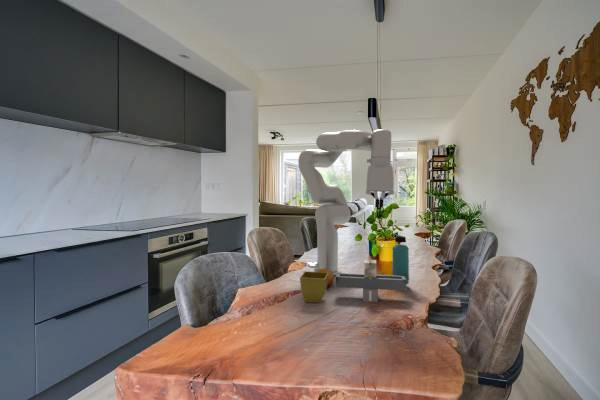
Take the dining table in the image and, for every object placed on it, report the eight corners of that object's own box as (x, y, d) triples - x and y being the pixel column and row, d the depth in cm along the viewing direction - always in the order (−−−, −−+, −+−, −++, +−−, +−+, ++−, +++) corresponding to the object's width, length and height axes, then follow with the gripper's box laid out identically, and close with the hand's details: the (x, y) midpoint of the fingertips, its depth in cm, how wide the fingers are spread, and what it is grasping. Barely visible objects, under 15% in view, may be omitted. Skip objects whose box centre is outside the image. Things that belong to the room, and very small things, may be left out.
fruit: (333, 279, 143) (333, 265, 138) (333, 294, 136) (333, 279, 132) (314, 279, 143) (313, 264, 139) (313, 293, 137) (312, 279, 133)
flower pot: (325, 305, 115) (325, 278, 114) (299, 303, 116) (299, 277, 116) (328, 297, 123) (328, 272, 123) (304, 296, 125) (304, 271, 125)
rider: (364, 282, 121) (364, 262, 120) (364, 278, 126) (364, 259, 126) (376, 283, 120) (376, 263, 120) (375, 279, 125) (375, 259, 125)
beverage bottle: (405, 289, 133) (406, 237, 132) (389, 286, 137) (389, 236, 136) (411, 286, 138) (411, 236, 138) (395, 283, 142) (395, 234, 142)
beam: (335, 299, 121) (335, 277, 121) (337, 292, 130) (337, 271, 130) (406, 303, 116) (406, 281, 116) (403, 295, 125) (403, 274, 125)
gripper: (360, 161, 132) (359, 209, 133) (401, 162, 129) (399, 211, 130) (361, 162, 139) (359, 208, 140) (399, 163, 136) (398, 209, 137)
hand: (379, 209), depth 135 cm, fingers closed
